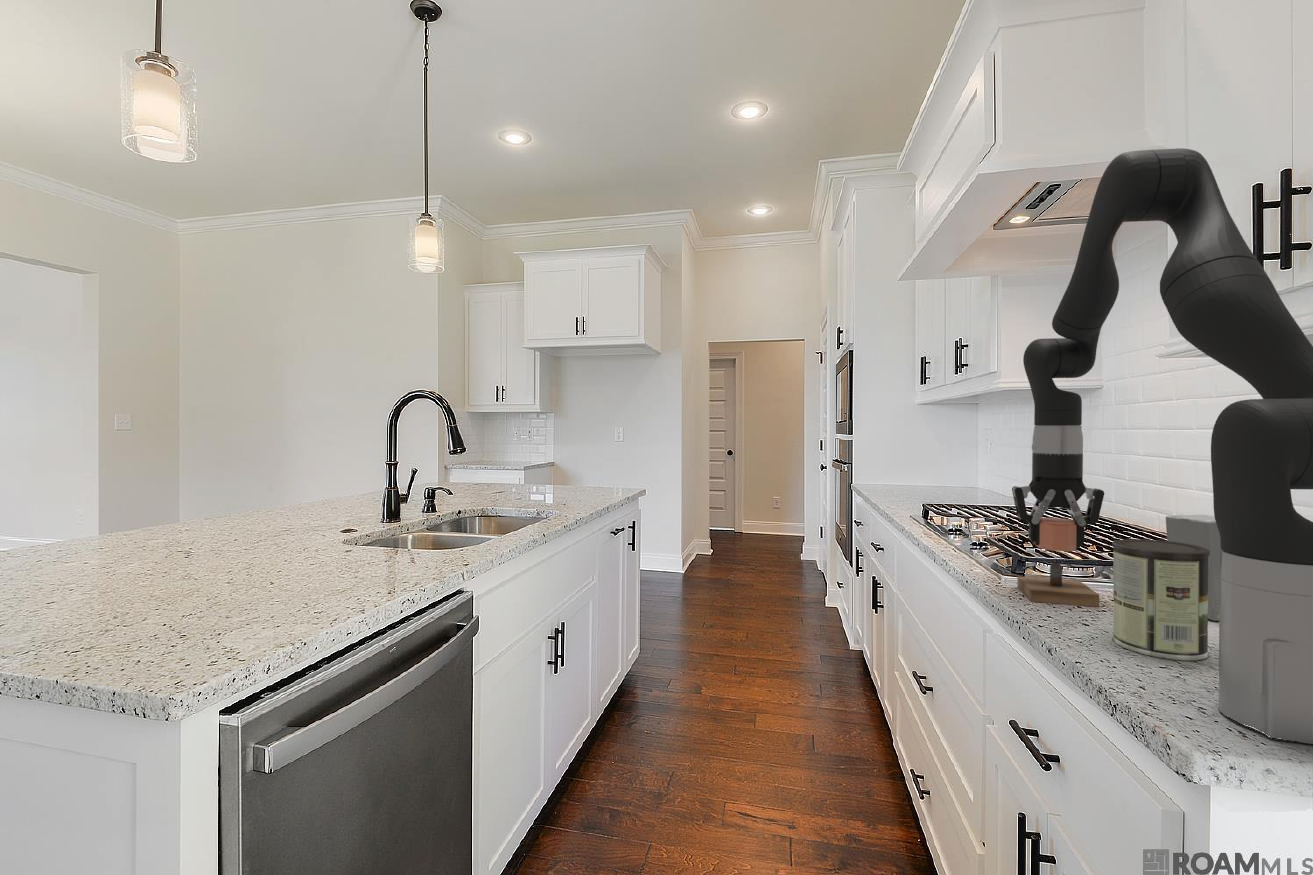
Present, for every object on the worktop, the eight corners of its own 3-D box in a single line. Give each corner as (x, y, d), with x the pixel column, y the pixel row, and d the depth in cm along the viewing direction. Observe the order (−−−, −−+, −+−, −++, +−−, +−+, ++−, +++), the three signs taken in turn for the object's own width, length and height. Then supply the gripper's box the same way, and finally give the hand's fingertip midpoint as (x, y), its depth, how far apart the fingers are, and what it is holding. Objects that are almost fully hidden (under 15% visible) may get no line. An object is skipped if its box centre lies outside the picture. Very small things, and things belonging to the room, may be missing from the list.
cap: (1079, 552, 105) (1079, 523, 105) (1042, 550, 107) (1042, 521, 106) (1069, 545, 110) (1069, 518, 110) (1033, 543, 112) (1034, 516, 112)
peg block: (1099, 606, 102) (1099, 571, 102) (1031, 601, 105) (1031, 567, 105) (1079, 591, 111) (1079, 558, 111) (1017, 586, 115) (1017, 555, 115)
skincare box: (1254, 622, 94) (1255, 520, 93) (1207, 622, 94) (1208, 520, 94) (1206, 606, 102) (1207, 512, 102) (1163, 606, 102) (1164, 512, 102)
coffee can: (1153, 632, 90) (1154, 537, 89) (1230, 658, 79) (1231, 551, 79) (1092, 636, 88) (1093, 539, 88) (1163, 664, 78) (1164, 554, 77)
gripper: (1016, 451, 107) (1015, 547, 107) (1113, 452, 102) (1112, 552, 102) (1006, 449, 114) (1005, 539, 114) (1097, 450, 109) (1096, 543, 109)
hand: (1056, 545), depth 108 cm, fingers closed on cap, 5 cm apart
